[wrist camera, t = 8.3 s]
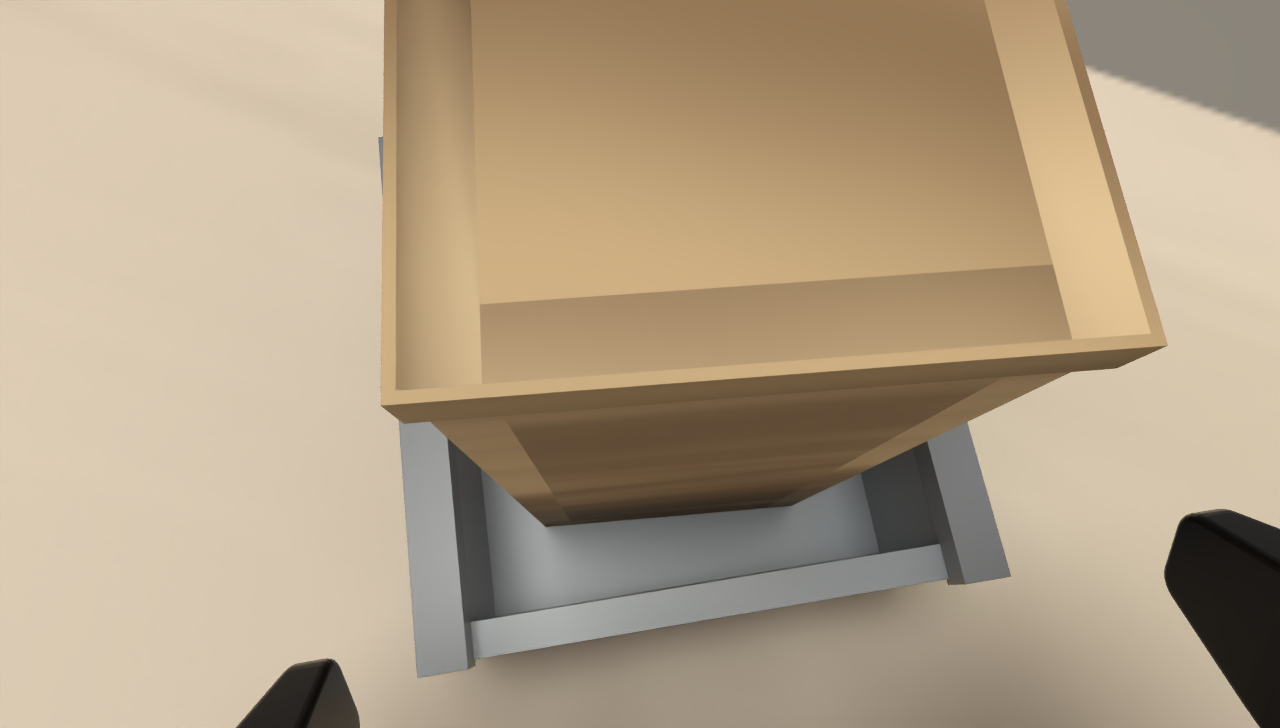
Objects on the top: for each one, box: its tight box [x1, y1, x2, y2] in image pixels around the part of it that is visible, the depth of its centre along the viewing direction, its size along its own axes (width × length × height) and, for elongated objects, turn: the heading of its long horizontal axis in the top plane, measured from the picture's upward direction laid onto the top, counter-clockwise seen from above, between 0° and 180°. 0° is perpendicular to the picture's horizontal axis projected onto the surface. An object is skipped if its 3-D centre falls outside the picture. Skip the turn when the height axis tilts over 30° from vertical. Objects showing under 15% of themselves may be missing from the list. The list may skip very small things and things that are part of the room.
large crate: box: [378, 137, 1011, 678], centre depth 16 cm, size 10×10×5 cm
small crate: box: [381, 0, 1168, 527], centre depth 12 cm, size 6×6×12 cm
